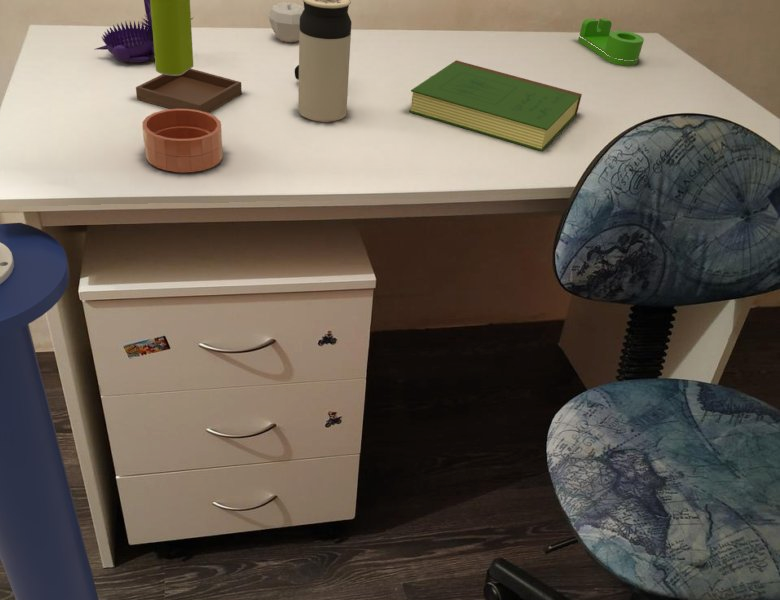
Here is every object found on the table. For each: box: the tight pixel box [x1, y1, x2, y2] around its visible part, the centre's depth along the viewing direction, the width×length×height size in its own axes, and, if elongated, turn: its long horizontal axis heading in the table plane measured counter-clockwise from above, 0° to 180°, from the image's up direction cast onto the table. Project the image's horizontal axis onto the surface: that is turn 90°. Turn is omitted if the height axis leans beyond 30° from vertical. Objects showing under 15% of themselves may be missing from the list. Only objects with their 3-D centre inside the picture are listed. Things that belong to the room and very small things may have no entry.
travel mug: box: [297, 0, 352, 123], centre depth 127 cm, size 8×8×18 cm
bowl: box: [141, 108, 224, 173], centre depth 115 cm, size 11×11×5 cm
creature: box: [95, 0, 194, 63], centre depth 140 cm, size 9×18×12 cm, turn 107°
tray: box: [135, 68, 243, 114], centre depth 133 cm, size 12×12×2 cm
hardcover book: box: [408, 59, 583, 152], centre depth 139 cm, size 25×19×4 cm
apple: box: [268, 2, 304, 44], centre depth 156 cm, size 8×8×7 cm
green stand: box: [577, 17, 645, 67], centre depth 169 cm, size 15×7×5 cm, turn 22°
